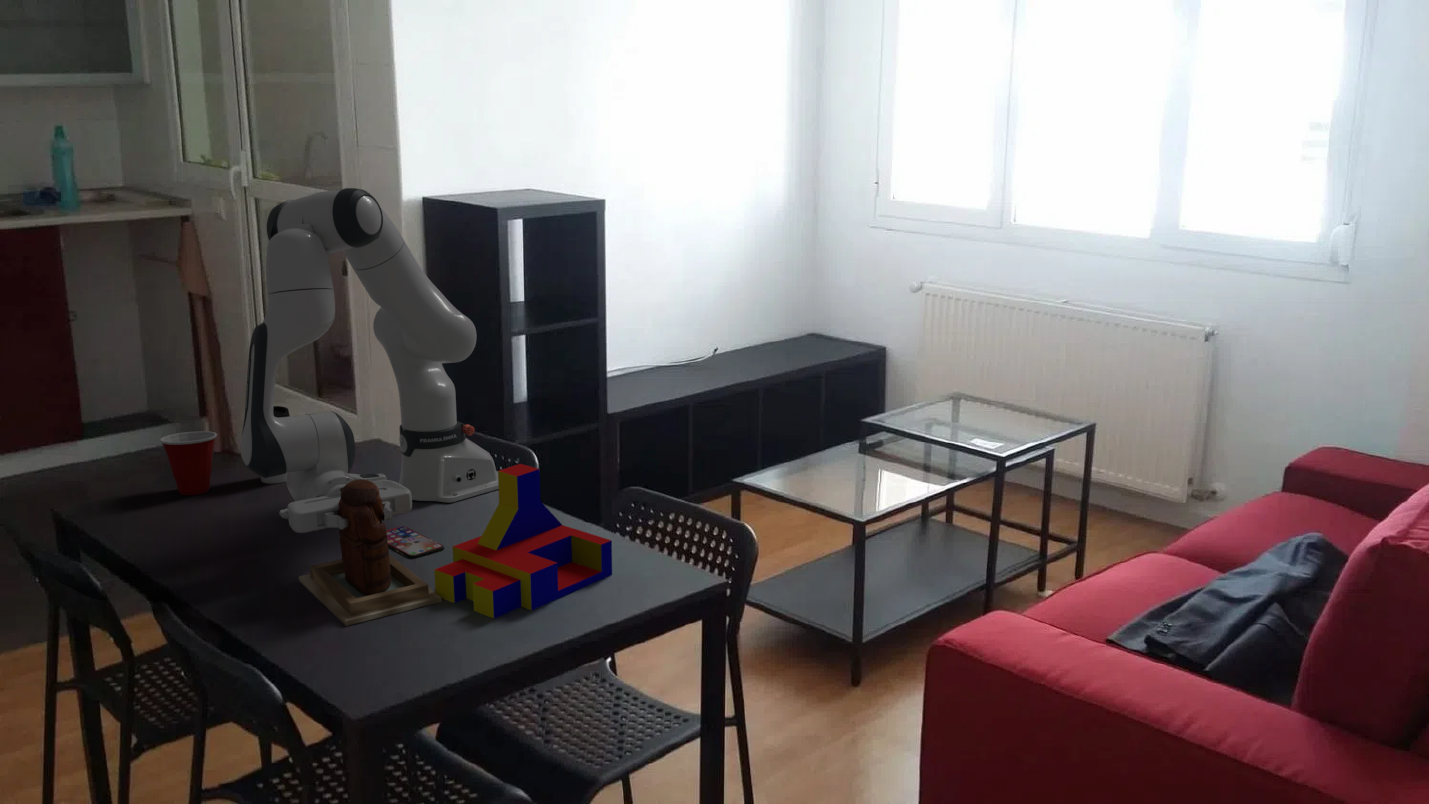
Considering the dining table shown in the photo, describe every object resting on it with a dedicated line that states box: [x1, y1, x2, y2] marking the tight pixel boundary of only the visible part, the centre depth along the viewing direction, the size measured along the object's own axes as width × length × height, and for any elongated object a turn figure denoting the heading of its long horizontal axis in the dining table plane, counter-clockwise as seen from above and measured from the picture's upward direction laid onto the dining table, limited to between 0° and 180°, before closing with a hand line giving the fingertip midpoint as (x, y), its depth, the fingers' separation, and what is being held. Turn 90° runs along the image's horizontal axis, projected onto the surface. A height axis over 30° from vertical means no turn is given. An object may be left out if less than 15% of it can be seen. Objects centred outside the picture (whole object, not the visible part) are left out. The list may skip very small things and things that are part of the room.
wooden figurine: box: [338, 479, 391, 595], centre depth 206 cm, size 12×6×18 cm, turn 38°
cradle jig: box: [298, 554, 442, 627], centre depth 208 cm, size 16×22×3 cm
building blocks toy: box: [433, 463, 613, 619], centre depth 210 cm, size 19×25×18 cm
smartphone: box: [386, 525, 445, 560], centre depth 229 cm, size 7×1×15 cm
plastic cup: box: [159, 430, 218, 496], centre depth 255 cm, size 11×11×12 cm
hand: (367, 519), depth 204 cm, fingers closed on wooden figurine, 6 cm apart
